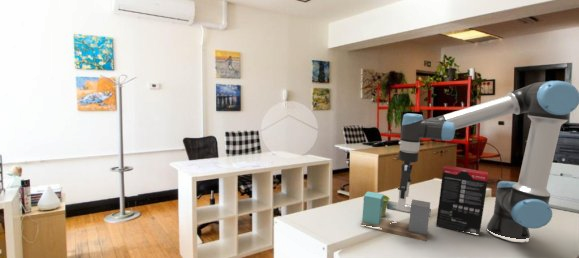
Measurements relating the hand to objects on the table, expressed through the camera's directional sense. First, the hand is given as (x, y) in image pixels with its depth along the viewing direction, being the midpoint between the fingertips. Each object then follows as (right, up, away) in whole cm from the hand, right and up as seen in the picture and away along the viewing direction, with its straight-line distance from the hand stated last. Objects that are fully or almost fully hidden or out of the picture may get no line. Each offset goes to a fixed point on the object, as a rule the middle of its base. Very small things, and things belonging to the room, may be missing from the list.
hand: (403, 200), depth 133 cm
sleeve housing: (+6, -12, -1) cm, 13 cm away
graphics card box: (+26, -14, +6) cm, 30 cm away
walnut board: (-3, -13, +3) cm, 13 cm away
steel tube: (+2, -5, 0) cm, 5 cm away
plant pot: (-6, -11, +18) cm, 22 cm away
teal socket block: (-11, -10, +7) cm, 17 cm away
